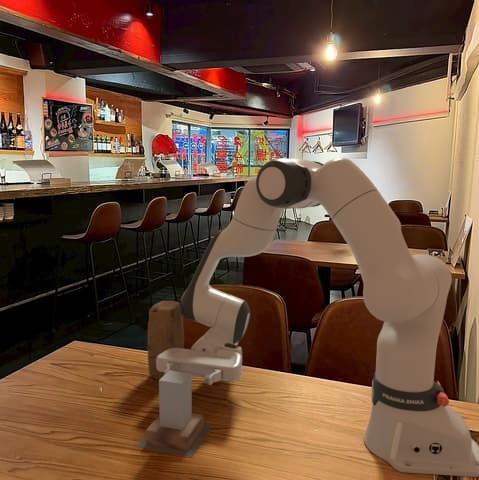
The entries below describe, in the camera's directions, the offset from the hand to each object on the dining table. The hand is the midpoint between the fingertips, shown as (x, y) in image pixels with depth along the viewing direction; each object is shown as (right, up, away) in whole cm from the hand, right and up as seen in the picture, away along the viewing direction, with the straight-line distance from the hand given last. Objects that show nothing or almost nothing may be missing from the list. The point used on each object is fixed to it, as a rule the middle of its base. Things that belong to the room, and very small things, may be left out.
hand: (187, 378), depth 103 cm
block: (-8, -6, +26) cm, 28 cm away
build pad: (-2, -11, -5) cm, 12 cm away
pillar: (-2, -8, -5) cm, 9 cm away
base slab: (-2, -11, -5) cm, 12 cm away
